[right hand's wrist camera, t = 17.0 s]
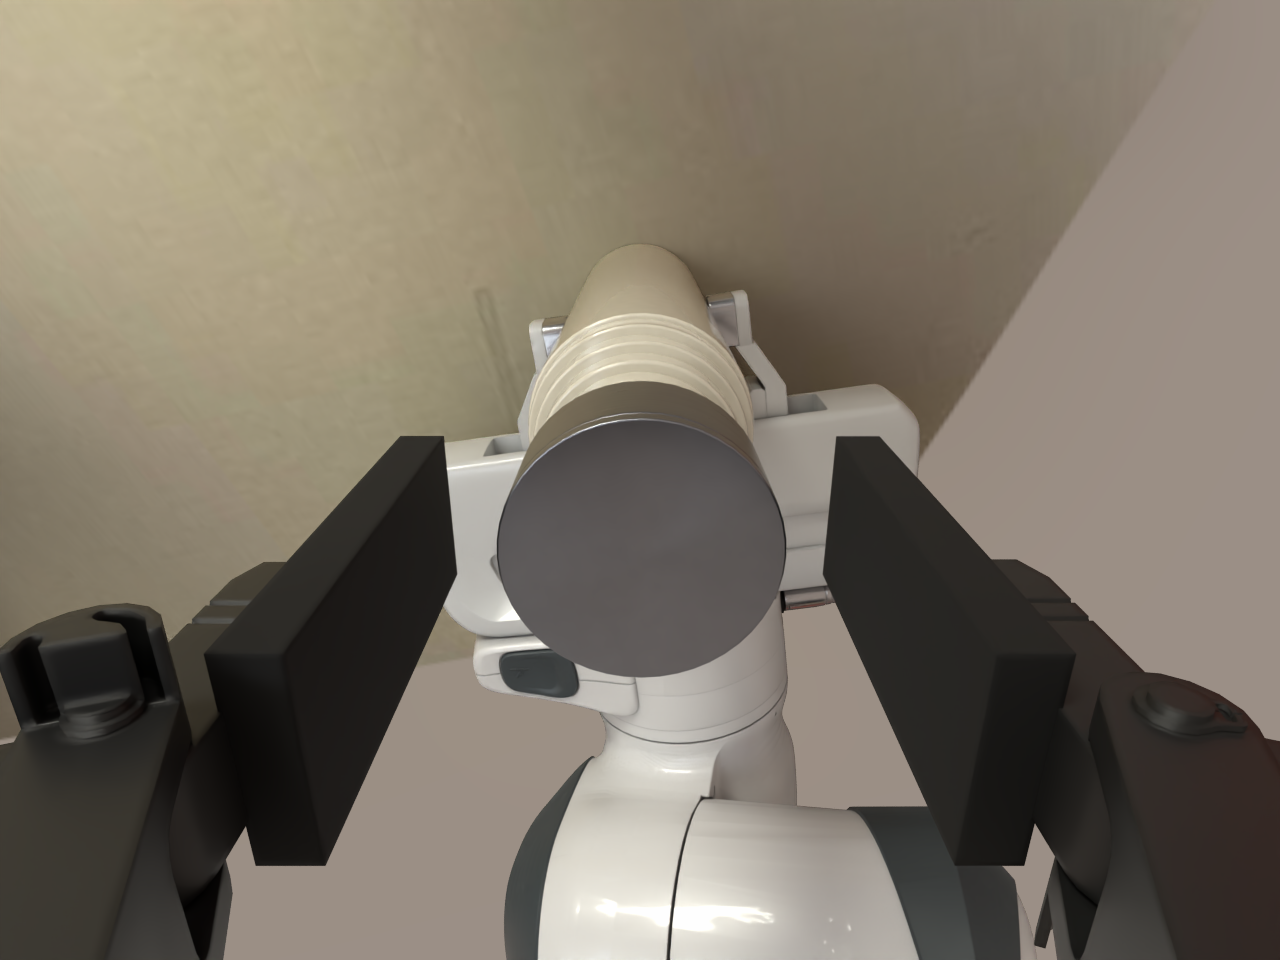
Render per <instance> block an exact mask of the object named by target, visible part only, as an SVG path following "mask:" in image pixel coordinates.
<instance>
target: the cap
mask: <svg viewBox="0 0 1280 960" xmlns="http://www.w3.org/2000/svg"><path fill="white" fill-rule="evenodd" d="M497 562H498V568H499V574H500V577H501V581H502V584H503V587H504V590H505V592H506V595H507V597H508V599H509V601H510V603H511V605H512V607H513V608H514V610H515V612H516V613H517V615H518V616H519V618H520V619H521V621H522V622H523V623H524V624H525V625H526V627H527V628H528V629H529V630H530V631H531V632H532V633H533V634H534V635H535V636H536V637H537V638H538V639H539V640H540V641H541V642H542V643H543V644H545V645H546V646H547V647H549V648H550V649H552V650H553V651H554V652H556V653H557V654H559V655H561V656H562V657H564V658H566V659H568V660H570V661H572V662H573V663H576V664H578V665H581V666H583V667H586V668H588V669H591V670H594V671H598V672H602V673H605V674H610V675H616V676H622V677H637V678H646V677H661V676H667V675H673V674H678V673H681V672H685V671H688V670H692V669H695V668H697V667H700V666H702V665H705V664H707V663H709V662H711V661H713V660H715V659H717V658H719V657H720V656H722V655H724V654H726V653H727V652H728V651H730V650H731V649H733V648H734V647H735V646H737V645H738V644H739V643H741V642H742V641H743V640H744V639H745V638H746V637H747V636H748V635H749V634H750V633H751V632H752V631H753V630H754V629H755V628H756V626H757V625H758V624H759V623H760V622H761V620H762V619H763V618H764V616H765V615H766V613H767V611H768V610H769V608H770V607H771V605H772V603H773V601H774V599H775V597H776V594H777V592H778V590H779V587H780V584H781V581H782V577H783V574H784V568H785V562H786V533H785V526H784V521H783V518H782V514H781V511H780V508H779V505H778V502H777V500H776V498H775V495H774V493H773V490H772V488H771V485H770V483H769V481H768V478H767V476H766V473H765V471H764V469H763V466H762V464H761V461H760V459H759V457H758V454H757V452H756V450H755V448H754V446H753V444H752V442H751V441H750V439H749V437H748V436H747V434H746V433H745V431H744V430H743V429H742V428H741V426H740V425H739V424H738V423H737V422H736V421H735V419H734V418H733V417H732V416H730V415H729V414H728V413H727V412H726V411H725V410H724V409H722V408H721V407H720V406H718V405H717V404H715V403H714V402H712V401H711V400H709V399H708V398H706V397H704V396H702V395H700V394H698V393H696V392H694V391H692V390H689V389H686V388H682V387H679V386H676V385H672V384H667V383H662V382H653V381H630V382H621V383H616V384H611V385H606V386H603V387H600V388H597V389H594V390H591V391H589V392H587V393H585V394H583V395H581V396H579V397H577V398H575V399H573V400H572V401H570V402H569V403H567V404H566V405H564V406H563V407H561V408H560V409H559V410H558V411H557V412H556V413H555V414H553V415H552V416H551V417H550V418H549V419H548V420H547V421H546V423H545V424H544V425H543V426H542V427H541V428H540V429H539V431H538V432H537V434H536V435H535V437H534V438H533V440H532V442H531V443H530V445H529V447H528V449H527V452H526V454H525V456H524V458H523V461H522V463H521V465H520V468H519V470H518V473H517V475H516V478H515V480H514V483H513V485H512V488H511V490H510V493H509V495H508V497H507V500H506V502H505V505H504V508H503V511H502V514H501V518H500V521H499V527H498V534H497Z"/></svg>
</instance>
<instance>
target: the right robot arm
mask: <svg viewBox="0 0 1280 960" xmlns="http://www.w3.org/2000/svg"><path fill="white" fill-rule="evenodd" d="M456 576H457V564H456V554H455V544H454V534H453V524H452V514H451V504H450V493H449V483H448V473H447V463H446V453H445V443H444V436H400V437H399V438H398V439H397V441H396V442H395V443H394V444H393V445H392V446H391V447H390V448H389V449H388V450H387V452H386V453H385V454H384V455H383V456H382V457H381V458H380V459H379V460H378V462H377V463H376V464H375V465H374V466H373V467H372V468H371V469H370V470H369V471H368V473H367V474H366V475H365V476H364V477H363V478H362V479H361V480H360V481H359V482H358V484H357V485H356V486H355V487H354V488H353V489H352V490H351V491H350V492H349V494H348V495H347V496H346V497H345V498H344V499H343V500H342V501H341V502H340V503H339V505H338V506H337V507H336V508H335V509H334V510H333V511H332V512H331V513H330V515H329V516H328V517H327V518H326V519H325V520H324V521H323V522H322V523H321V524H320V526H319V527H318V528H317V529H316V530H315V531H314V532H313V533H312V534H311V536H310V537H309V538H308V539H307V540H306V541H305V542H304V543H303V544H302V545H301V547H300V548H299V549H298V550H297V551H296V552H295V553H294V554H293V555H292V557H291V558H290V559H289V560H288V561H287V562H263V563H262V564H260V565H258V566H256V567H254V568H252V569H251V570H249V571H247V572H245V573H243V574H242V575H240V576H238V577H236V578H234V579H232V580H231V581H230V582H229V583H228V584H227V585H226V586H225V587H224V588H223V589H222V590H221V591H220V592H219V593H218V594H217V595H216V596H215V597H214V598H213V599H212V600H211V601H210V606H205V607H204V608H203V609H202V610H201V611H200V612H199V613H198V614H197V615H196V616H195V617H194V618H193V619H192V624H187V625H186V626H185V627H184V628H183V629H182V630H181V631H180V632H179V633H178V634H177V635H176V636H175V637H174V638H173V639H172V640H171V641H170V642H169V643H168V640H167V637H166V633H165V629H164V625H163V621H162V618H161V614H159V613H158V612H156V611H155V610H153V609H152V608H150V607H149V606H142V605H135V604H128V603H125V604H111V605H99V606H94V607H90V608H85V609H81V610H77V611H72V612H68V613H65V614H63V615H60V616H57V617H55V618H52V619H49V620H46V621H44V622H41V623H38V624H36V625H34V626H33V627H31V628H29V629H27V630H26V631H24V632H22V633H20V634H18V635H17V636H15V637H13V638H11V639H10V640H9V641H8V642H7V643H6V644H5V645H4V646H3V647H2V648H1V649H0V672H1V675H2V678H3V680H4V683H5V686H6V689H7V691H8V694H9V697H10V700H11V702H12V705H13V708H14V711H15V713H16V716H17V719H18V721H19V724H20V727H21V731H20V732H19V734H18V736H17V738H16V739H15V741H14V742H13V743H8V744H3V745H0V960H223V956H224V950H225V943H226V936H227V929H228V922H229V915H230V908H231V901H232V894H233V893H232V886H231V879H230V874H229V870H228V867H227V863H226V858H227V856H228V855H229V853H230V851H231V850H232V848H233V846H234V845H235V843H236V841H237V840H238V838H239V836H240V835H241V833H242V831H243V830H244V828H245V827H246V828H247V832H248V836H249V840H250V844H251V848H252V852H253V856H254V861H255V865H256V866H325V865H326V863H327V861H328V859H329V857H330V854H331V852H332V850H333V848H334V846H335V843H336V841H337V839H338V837H339V834H340V832H341V830H342V828H343V826H344V824H345V821H346V819H347V817H348V815H349V813H350V810H351V808H352V806H353V804H354V801H355V799H356V797H357V795H358V792H359V790H360V788H361V786H362V784H363V782H364V779H365V777H366V775H367V773H368V771H369V768H370V766H371V764H372V762H373V760H374V757H375V755H376V753H377V751H378V749H379V746H380V744H381V742H382V740H383V737H384V735H385V733H386V731H387V729H388V726H389V724H390V722H391V720H392V718H393V715H394V713H395V711H396V709H397V707H398V704H399V702H400V700H401V698H402V695H403V693H404V691H405V689H406V687H407V685H408V682H409V680H410V678H411V676H412V673H413V671H414V669H415V667H416V665H417V662H418V660H419V658H420V656H421V654H422V651H423V649H424V647H425V645H426V643H427V640H428V638H429V636H430V634H431V632H432V629H433V627H434V625H435V623H436V621H437V618H438V616H439V614H440V612H441V609H442V607H443V605H444V603H445V601H446V598H447V596H448V594H449V592H450V590H451V587H452V585H453V583H454V581H455V579H456ZM823 576H824V579H825V581H826V583H827V585H828V587H829V590H830V592H831V594H832V596H833V598H834V601H835V603H836V605H837V607H838V609H839V612H840V614H841V616H842V618H843V621H844V623H845V625H846V627H847V629H848V631H849V634H850V636H851V638H852V640H853V643H854V645H855V647H856V649H857V651H858V654H859V656H860V658H861V660H862V662H863V665H864V667H865V669H866V671H867V673H868V676H869V678H870V680H871V682H872V684H873V687H874V689H875V691H876V693H877V695H878V698H879V700H880V702H881V704H882V707H883V709H884V711H885V713H886V715H887V718H888V720H889V722H890V724H891V726H892V729H893V731H894V733H895V735H896V737H897V740H898V742H899V744H900V746H901V748H902V751H903V753H904V755H905V757H906V760H907V762H908V764H909V766H910V768H911V770H912V773H913V775H914V777H915V779H916V782H917V784H918V786H919V788H920V790H921V793H922V795H923V797H924V799H925V801H926V804H927V806H928V808H929V810H930V813H931V815H932V817H933V819H934V821H935V824H936V826H937V828H938V830H939V832H940V835H941V837H942V839H943V841H944V843H945V846H946V848H947V850H948V852H949V854H950V857H951V859H952V861H953V863H954V865H955V866H1024V865H1025V861H1026V857H1027V852H1028V848H1029V844H1030V840H1031V836H1032V832H1033V828H1034V824H1036V826H1037V827H1038V829H1039V831H1040V832H1041V834H1042V836H1043V837H1044V839H1045V841H1046V842H1047V844H1048V845H1049V847H1050V849H1051V850H1052V852H1053V854H1054V855H1055V859H1054V863H1053V867H1052V870H1051V874H1050V878H1049V882H1048V885H1047V889H1046V893H1045V897H1044V901H1043V904H1042V908H1041V912H1040V916H1039V919H1038V923H1037V927H1036V933H1035V940H1034V945H1035V946H1039V947H1042V948H1046V944H1047V941H1048V937H1049V933H1050V930H1052V929H1053V933H1054V940H1055V947H1056V954H1057V960H1280V741H1276V740H1271V739H1266V738H1264V736H1263V734H1262V733H1261V731H1260V729H1259V728H1258V726H1257V725H1256V724H1255V723H1254V722H1253V721H1252V720H1251V718H1250V717H1249V716H1248V715H1247V714H1246V713H1245V712H1244V711H1243V710H1242V709H1240V708H1239V707H1237V706H1236V705H1234V704H1233V703H1231V702H1230V701H1228V700H1227V699H1226V698H1224V697H1223V696H1221V695H1220V694H1217V693H1215V692H1213V691H1211V690H1208V689H1206V688H1204V687H1201V686H1199V685H1197V684H1195V683H1192V682H1190V681H1186V680H1183V679H1179V678H1175V677H1171V676H1167V675H1164V674H1159V673H1147V672H1144V671H1143V670H1142V669H1141V668H1140V667H1139V666H1138V665H1137V664H1136V663H1135V662H1134V661H1133V660H1132V659H1131V658H1130V657H1129V656H1128V655H1127V654H1126V653H1125V652H1124V651H1123V650H1122V649H1121V648H1120V647H1119V646H1118V645H1117V644H1116V643H1115V642H1114V641H1113V640H1112V639H1111V638H1110V637H1109V636H1108V635H1107V634H1106V633H1105V632H1104V631H1103V630H1102V629H1101V628H1100V627H1099V626H1098V625H1097V624H1096V623H1095V622H1094V621H1089V619H1088V615H1087V614H1086V613H1085V612H1084V611H1083V610H1082V609H1081V608H1080V607H1079V606H1078V605H1077V604H1076V603H1071V598H1070V597H1069V596H1068V595H1067V594H1066V593H1065V592H1064V591H1063V590H1062V589H1061V588H1060V587H1059V586H1058V585H1057V584H1056V583H1054V582H1053V581H1052V580H1051V579H1050V578H1049V577H1048V576H1046V575H1044V574H1042V573H1040V572H1038V571H1037V570H1035V569H1033V568H1031V567H1029V566H1027V565H1026V564H1024V563H1022V562H1020V561H1018V560H991V559H990V558H989V557H988V555H987V554H986V553H985V552H984V551H983V550H982V549H981V548H980V547H979V546H978V544H977V543H976V542H975V541H974V540H973V539H972V538H971V537H970V536H969V534H968V533H967V532H966V531H965V530H964V529H963V528H962V527H961V526H960V524H959V523H958V522H957V521H956V520H955V519H954V518H953V517H952V516H951V515H950V513H949V512H948V511H947V510H946V509H945V508H944V507H943V506H942V505H941V503H940V502H939V501H938V500H937V499H936V498H935V497H934V496H933V495H932V494H931V492H930V491H929V490H928V489H927V488H926V487H925V486H924V485H923V484H922V482H921V481H920V480H919V479H918V478H917V477H916V476H915V475H914V474H913V473H912V471H911V470H910V469H909V468H908V467H907V466H906V465H905V464H904V463H903V462H902V460H901V459H900V458H899V457H898V456H897V455H896V454H895V453H894V452H893V450H892V449H891V448H890V447H889V446H888V445H887V444H886V443H885V442H884V441H883V439H882V438H881V437H880V436H836V443H835V453H834V463H833V473H832V483H831V493H830V504H829V514H828V524H827V534H826V544H825V554H824V564H823Z"/></svg>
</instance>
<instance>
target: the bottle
mask: <svg viewBox="0 0 1280 960" xmlns="http://www.w3.org/2000/svg"><path fill="white" fill-rule="evenodd" d="M630 381H653V382H662V383H667V384H672V385H676V386H679V387H682V388H686V389H689V390H692V391H694V392H696V393H698V394H700V395H702V396H704V397H706V398H708V399H709V400H711V401H712V402H714V403H715V404H717V405H718V406H720V407H721V408H722V409H724V410H725V411H726V412H727V413H728V414H729V415H730V416H732V417H733V418H734V419H735V421H736V422H737V423H738V424H739V425H740V426H741V428H742V429H743V430H744V431H745V433H746V434H747V436H748V437H749V439H750V441H751V442H752V444H753V435H754V425H753V423H754V415H753V406H752V400H751V396H750V392H749V388H748V386H747V383H746V381H745V378H744V376H743V374H742V372H741V370H740V368H739V366H738V364H737V362H736V360H735V358H734V356H733V354H732V352H731V350H730V348H729V346H728V344H727V342H726V340H725V338H724V336H723V334H722V332H721V330H720V328H719V326H718V324H717V322H716V321H715V319H714V317H713V315H712V313H711V311H710V309H709V307H708V305H707V303H706V301H705V299H704V297H703V295H702V293H701V291H700V289H699V287H698V285H697V283H696V281H695V279H694V277H693V275H692V274H691V272H690V270H689V269H688V268H687V266H686V265H685V264H684V263H683V262H682V261H681V260H680V259H679V258H678V257H677V256H675V255H674V254H673V253H671V252H669V251H668V250H666V249H663V248H661V247H658V246H654V245H649V244H632V245H626V246H623V247H620V248H618V249H616V250H613V251H612V252H610V253H608V254H607V255H605V256H604V257H603V258H602V259H601V260H600V261H599V262H598V263H597V264H596V265H595V266H594V267H593V269H592V270H591V272H590V273H589V275H588V277H587V279H586V281H585V283H584V285H583V287H582V289H581V291H580V293H579V296H578V298H577V300H576V302H575V304H574V306H573V308H572V310H571V312H570V314H569V316H568V318H567V320H566V322H565V324H564V326H563V328H562V330H561V332H560V334H559V336H558V338H557V340H556V342H555V344H554V346H553V348H552V350H551V352H550V354H549V356H548V358H547V360H546V362H545V364H544V366H543V368H542V370H541V372H540V374H539V376H538V378H537V380H536V383H535V386H534V389H533V392H532V395H531V400H530V405H529V417H528V426H529V428H528V436H529V445H530V443H531V442H532V440H533V438H534V437H535V435H536V434H537V432H538V431H539V429H540V428H541V427H542V426H543V425H544V424H545V423H546V421H547V420H548V419H549V418H550V417H551V416H552V415H553V414H555V413H556V412H557V411H558V410H559V409H560V408H561V407H563V406H564V405H566V404H567V403H569V402H570V401H572V400H573V399H575V398H577V397H579V396H581V395H583V394H585V393H587V392H589V391H591V390H594V389H597V388H600V387H603V386H606V385H611V384H616V383H621V382H630Z"/></svg>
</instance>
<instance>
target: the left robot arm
mask: <svg viewBox="0 0 1280 960" xmlns="http://www.w3.org/2000/svg"><path fill="white" fill-rule="evenodd" d="M705 299H706V303H707V305H708V307H709V309H710V311H711V313H712V315H713V317H714V319H715V321H716V322H717V324H718V326H719V328H720V330H721V332H722V334H723V336H724V338H725V340H726V342H727V344H728V346H735V347H736V348H737V350H738V351H739V353H740V354H741V355H742V357H743V358H744V359H745V361H746V362H747V363H748V365H749V366H750V367H751V369H752V370H753V372H754V373H755V374H756V376H757V377H758V378H757V377H756V376H755V375H752V376H746V377H745V381H746V383H747V386H748V388H749V392H750V396H751V400H752V406H753V415H754V423H753V425H754V435H753V446H754V448H755V450H756V452H757V454H758V457H759V459H760V461H761V464H762V466H763V469H764V471H765V473H766V476H767V478H768V481H769V483H770V485H771V488H772V490H773V493H774V495H775V498H776V500H777V502H778V505H779V508H780V511H781V514H782V518H783V521H784V526H785V533H786V562H785V568H784V574H783V577H782V581H781V584H780V587H779V590H778V592H777V594H776V597H775V599H774V601H773V603H772V605H771V607H770V608H769V610H768V611H767V613H766V615H765V616H764V618H763V619H762V620H761V622H760V623H759V624H758V625H757V626H756V628H755V629H754V630H753V631H752V632H751V633H750V634H749V635H748V636H747V637H746V638H745V639H744V640H743V641H742V642H741V643H739V644H738V645H737V646H735V647H734V648H733V649H731V650H730V651H728V652H727V653H726V654H724V655H722V656H720V657H719V658H717V659H715V660H713V661H711V662H709V663H707V664H705V665H702V666H700V667H697V668H695V669H692V670H688V671H685V672H681V673H678V674H673V675H667V676H661V677H646V678H637V677H622V676H616V675H610V674H605V673H602V672H598V671H594V670H591V669H588V668H586V667H583V666H581V665H578V664H576V663H573V662H572V661H570V660H568V659H566V658H564V657H562V656H561V655H559V654H557V653H556V652H554V651H553V650H552V649H550V648H549V647H547V646H546V645H545V644H543V643H542V642H541V641H540V640H539V639H538V638H537V637H536V636H535V635H534V634H533V633H532V632H531V631H530V630H529V629H528V628H527V627H526V625H525V624H524V623H523V622H522V621H521V619H520V618H519V616H518V615H517V613H516V612H515V610H514V608H513V607H512V605H511V603H510V601H509V599H508V597H507V595H506V592H505V590H504V587H503V584H502V581H501V577H500V574H499V568H498V562H497V534H498V527H499V521H500V518H501V514H502V511H503V508H504V505H505V502H506V500H507V497H508V495H509V493H510V490H511V488H512V485H513V483H514V480H515V478H516V475H517V473H518V470H519V468H520V465H521V463H522V461H523V458H524V456H525V454H526V452H527V449H528V447H529V436H528V428H529V426H528V417H529V405H530V400H531V395H532V392H533V389H534V386H535V383H536V380H537V378H538V376H539V374H540V372H541V370H542V368H543V366H544V364H545V362H546V360H547V358H548V356H549V354H550V352H551V350H552V348H553V346H554V344H555V342H556V340H557V338H558V336H559V334H560V332H561V330H562V328H563V326H564V324H565V322H566V320H567V318H568V316H569V315H568V316H560V317H552V318H543V319H538V320H533V321H532V322H531V324H530V325H529V332H530V341H531V346H532V351H533V356H534V361H535V366H536V371H535V373H534V376H533V378H532V381H531V384H530V387H529V390H528V392H527V395H526V398H525V401H524V404H523V406H522V409H521V412H520V415H519V418H518V421H517V424H518V429H519V433H512V434H505V435H498V436H490V437H483V438H476V439H469V440H462V441H454V442H446V443H445V453H446V463H447V473H448V483H449V493H450V504H451V514H452V524H453V534H454V544H455V554H456V564H457V576H456V579H455V581H454V583H453V585H452V587H451V590H450V592H449V594H448V596H447V598H446V601H445V603H444V605H443V607H444V608H445V609H446V611H447V612H448V614H449V615H450V616H451V617H452V618H453V619H454V620H455V621H456V622H457V623H458V624H459V625H460V626H462V627H463V628H465V629H466V630H468V631H470V632H473V633H475V634H477V637H476V641H475V648H474V656H473V665H474V670H475V674H476V677H477V680H478V681H479V683H480V684H481V685H482V686H483V687H484V688H486V689H488V690H490V691H493V692H497V693H503V694H510V695H517V696H524V697H531V698H538V699H544V700H550V701H556V702H561V703H566V704H571V705H575V706H580V707H584V708H588V709H592V710H596V711H599V712H600V715H601V717H602V719H603V721H604V724H605V729H606V740H605V744H604V749H603V751H602V753H601V754H600V755H599V756H598V757H596V758H595V757H594V756H592V757H590V758H589V759H587V760H586V761H585V762H584V763H583V764H582V765H581V766H580V767H579V768H578V769H577V770H576V771H575V772H574V773H573V774H572V775H571V776H570V777H569V778H568V780H567V781H566V782H565V783H564V784H563V786H562V787H561V788H560V789H559V790H558V792H557V793H556V794H555V795H554V796H553V798H552V799H551V800H550V801H549V802H548V804H547V805H546V806H545V807H544V808H543V810H542V811H541V812H540V813H539V815H538V816H537V817H536V819H535V820H534V822H533V823H532V825H531V826H530V828H529V830H528V832H527V834H526V836H525V838H524V840H523V842H522V844H521V846H520V849H519V851H518V854H517V856H516V859H515V862H514V864H513V867H512V870H511V874H510V877H509V882H508V886H507V892H506V900H505V914H504V937H505V950H506V958H507V960H1037V956H1036V949H1035V945H1034V939H1033V935H1032V931H1031V927H1030V924H1029V921H1028V917H1027V914H1026V911H1025V909H1024V907H1023V904H1022V902H1021V899H1020V898H1019V896H1018V894H1017V891H1016V884H1015V880H1014V879H1013V878H1012V876H1011V875H1010V874H1009V873H1008V872H1007V871H1006V870H1005V869H1004V868H1003V867H1002V866H955V865H954V863H953V861H952V859H951V857H950V854H949V852H948V850H947V848H946V846H945V843H944V841H943V839H942V837H941V835H940V832H939V830H938V828H937V826H936V824H935V821H934V819H933V817H932V815H931V813H930V810H929V808H928V807H849V808H848V809H847V810H840V809H829V808H817V807H805V806H797V789H796V769H795V756H794V747H793V743H792V739H791V736H790V733H789V730H788V728H787V726H786V724H785V722H784V720H783V717H782V709H783V705H784V702H785V698H786V693H787V683H788V676H787V664H786V652H785V641H784V629H783V619H782V613H784V611H786V610H794V609H802V608H810V607H817V606H822V605H825V604H831V603H835V601H834V598H833V596H832V594H831V592H830V590H829V587H828V585H827V583H826V581H825V579H824V576H823V564H824V554H825V544H826V534H827V524H828V514H829V504H830V493H831V483H832V473H833V463H834V453H835V443H836V436H880V437H881V438H882V439H883V441H884V442H885V443H886V444H887V445H888V446H889V447H890V448H891V449H892V450H893V452H894V453H895V454H896V455H897V456H898V457H899V458H900V459H901V460H902V462H903V463H904V464H905V465H906V466H907V467H908V468H909V469H910V470H911V471H912V473H913V474H914V475H915V476H916V477H917V476H918V465H919V450H920V428H919V423H918V421H917V419H916V417H915V415H914V414H913V412H912V411H911V410H910V409H909V408H908V407H907V406H906V405H905V403H904V402H903V401H901V400H900V399H899V398H898V397H897V396H895V395H894V394H892V393H891V392H890V391H888V390H887V389H886V388H884V387H883V386H880V385H877V384H868V385H861V386H854V387H846V388H839V389H832V390H824V391H817V392H810V393H803V394H795V395H788V396H787V392H786V384H785V383H784V381H783V380H782V378H781V377H780V375H779V374H778V372H777V371H776V369H775V368H774V367H773V365H772V364H771V363H770V361H769V360H768V358H767V357H766V356H765V354H764V353H763V352H762V350H761V349H760V347H759V346H758V345H757V343H756V342H755V341H754V339H753V338H752V332H751V321H750V310H749V302H748V297H747V293H746V292H745V291H744V290H737V291H731V292H724V293H718V294H712V295H706V298H705Z"/></svg>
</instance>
